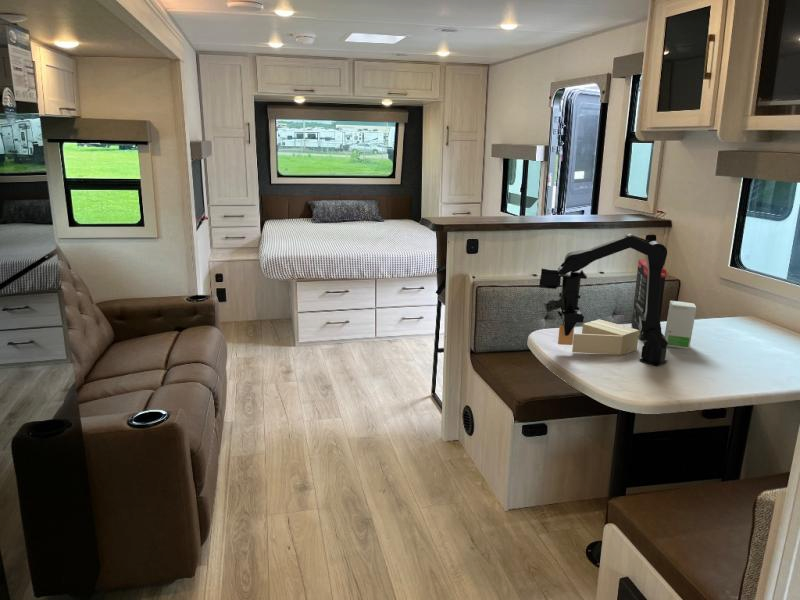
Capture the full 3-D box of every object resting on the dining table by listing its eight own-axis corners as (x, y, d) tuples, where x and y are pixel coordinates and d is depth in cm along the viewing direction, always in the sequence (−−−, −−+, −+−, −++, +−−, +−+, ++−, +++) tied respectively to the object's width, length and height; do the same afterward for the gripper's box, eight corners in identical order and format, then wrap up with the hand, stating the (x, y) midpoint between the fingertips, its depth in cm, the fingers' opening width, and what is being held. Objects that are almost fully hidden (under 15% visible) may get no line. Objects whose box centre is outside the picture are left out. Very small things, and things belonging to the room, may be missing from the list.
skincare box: (664, 346, 211) (670, 304, 207) (663, 341, 217) (668, 300, 213) (690, 349, 208) (697, 307, 204) (688, 343, 214) (694, 302, 210)
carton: (636, 349, 207) (639, 329, 205) (620, 354, 201) (623, 335, 199) (597, 337, 219) (599, 318, 218) (581, 342, 213) (582, 323, 212)
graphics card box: (658, 342, 215) (669, 268, 208) (639, 340, 217) (648, 267, 209) (647, 328, 232) (656, 259, 225) (629, 326, 233) (637, 258, 226)
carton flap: (619, 353, 201) (623, 326, 199) (620, 354, 201) (623, 327, 198) (557, 350, 203) (559, 323, 201) (557, 351, 202) (560, 324, 200)
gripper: (541, 282, 206) (538, 325, 210) (550, 296, 188) (546, 342, 192) (574, 283, 205) (569, 326, 210) (586, 297, 188) (581, 344, 192)
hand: (566, 334), depth 201 cm, fingers closed
